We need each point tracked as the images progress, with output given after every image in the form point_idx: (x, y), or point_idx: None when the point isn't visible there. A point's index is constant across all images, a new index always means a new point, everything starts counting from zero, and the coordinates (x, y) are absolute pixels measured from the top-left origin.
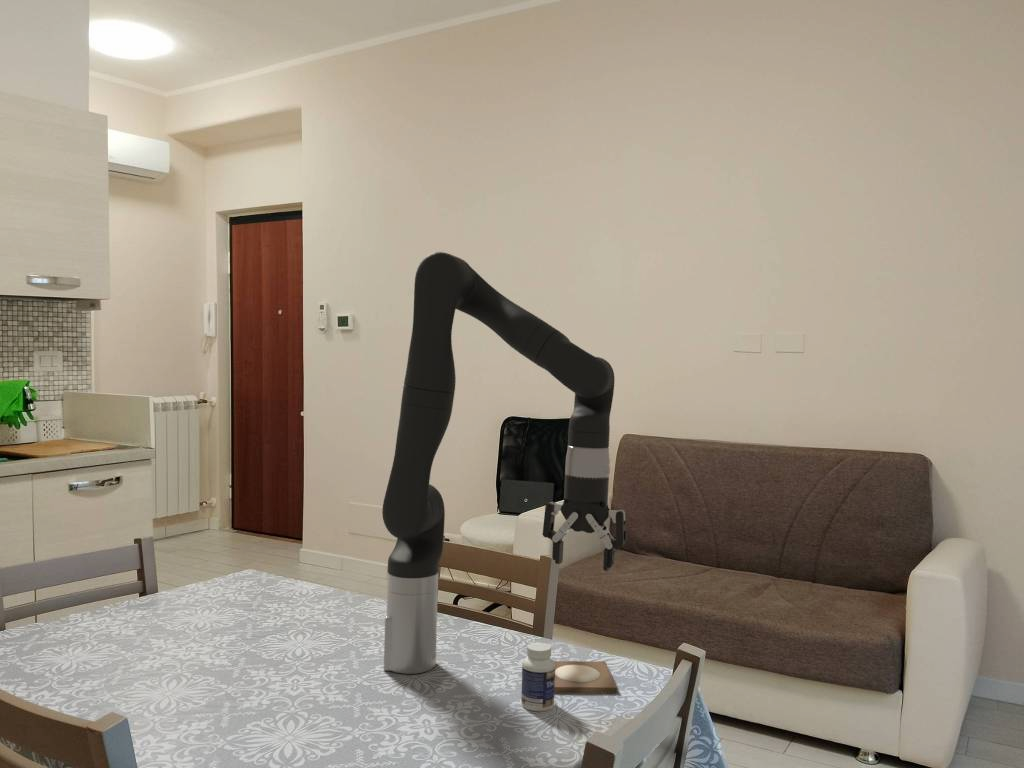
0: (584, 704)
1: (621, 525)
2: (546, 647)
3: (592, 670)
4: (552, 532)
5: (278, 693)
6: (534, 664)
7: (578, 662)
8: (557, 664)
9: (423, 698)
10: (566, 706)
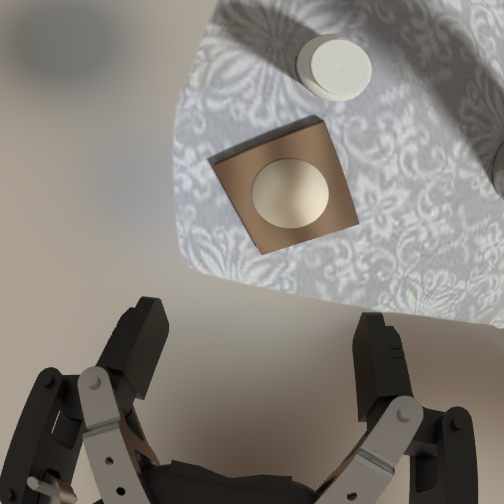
0: (249, 101)
1: (13, 448)
2: (322, 66)
3: (269, 214)
4: (423, 443)
5: None
6: (335, 38)
7: (300, 238)
8: (331, 219)
9: (480, 58)
10: (275, 81)
